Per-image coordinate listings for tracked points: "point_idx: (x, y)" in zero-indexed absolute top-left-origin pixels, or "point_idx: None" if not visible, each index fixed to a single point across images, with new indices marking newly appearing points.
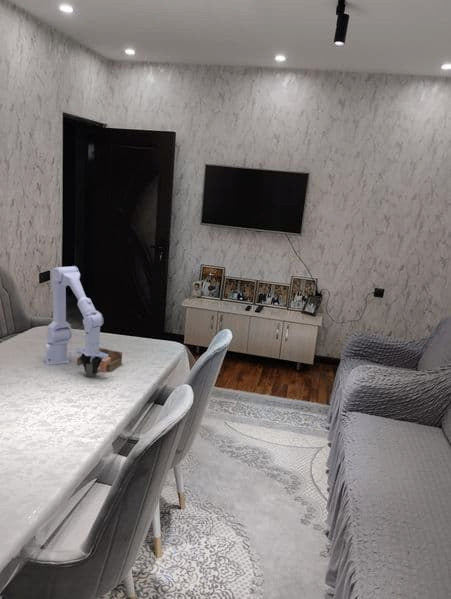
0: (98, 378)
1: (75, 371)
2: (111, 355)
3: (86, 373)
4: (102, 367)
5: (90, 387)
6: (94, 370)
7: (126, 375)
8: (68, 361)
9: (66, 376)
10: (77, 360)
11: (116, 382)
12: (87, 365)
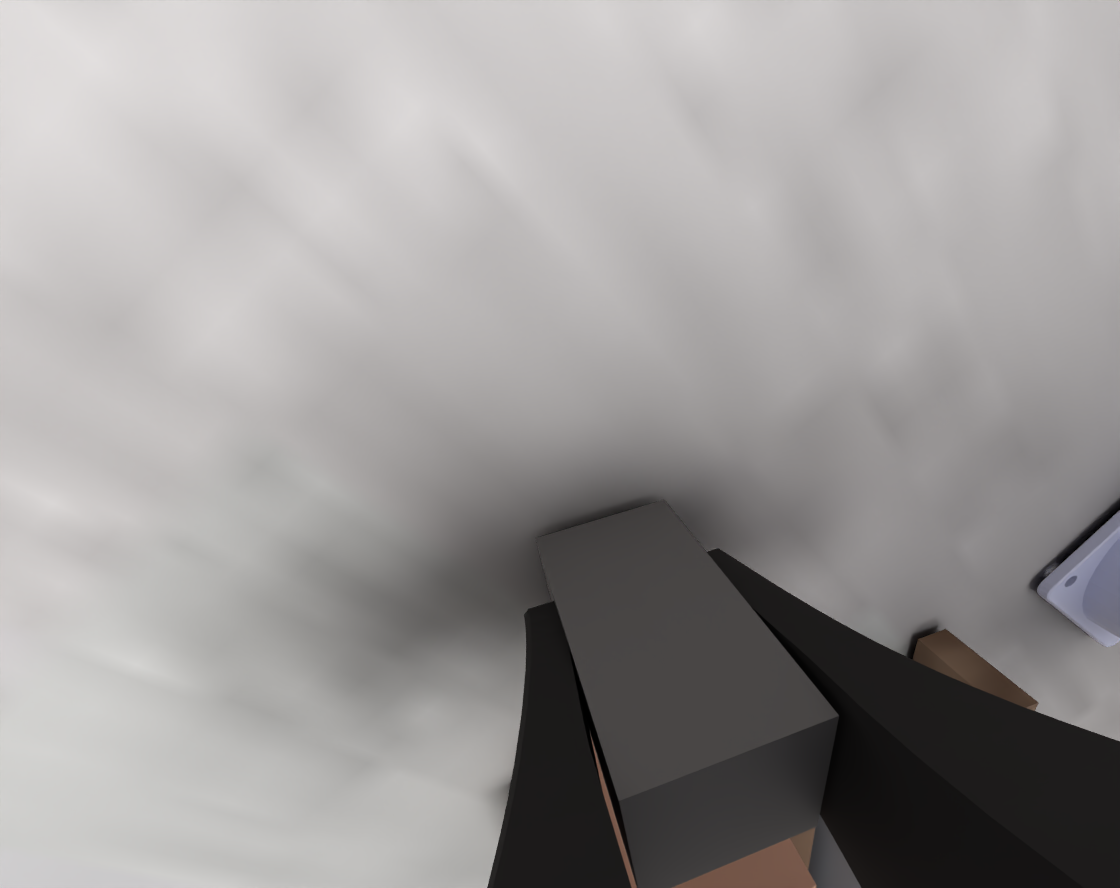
0: (450, 594)
1: (876, 506)
2: None
3: (667, 533)
4: (605, 799)
5: (115, 171)
6: (527, 676)
7: (266, 883)
8: (1057, 601)
9: (913, 280)
10: (996, 673)
11: (75, 715)
12: (758, 687)
